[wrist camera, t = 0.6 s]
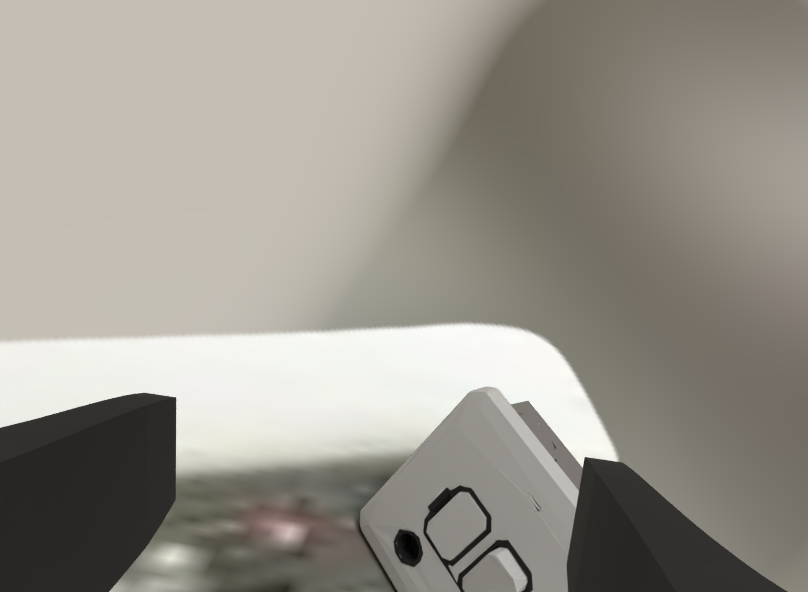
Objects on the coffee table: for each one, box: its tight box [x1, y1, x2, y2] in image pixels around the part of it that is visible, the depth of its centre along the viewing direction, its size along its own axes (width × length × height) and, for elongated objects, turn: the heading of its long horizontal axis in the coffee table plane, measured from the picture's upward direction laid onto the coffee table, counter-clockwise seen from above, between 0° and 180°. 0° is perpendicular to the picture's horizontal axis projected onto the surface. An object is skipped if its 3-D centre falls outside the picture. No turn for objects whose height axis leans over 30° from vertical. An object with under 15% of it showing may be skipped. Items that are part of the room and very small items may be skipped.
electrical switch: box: [360, 387, 583, 592], centre depth 26 cm, size 9×5×9 cm, turn 35°
